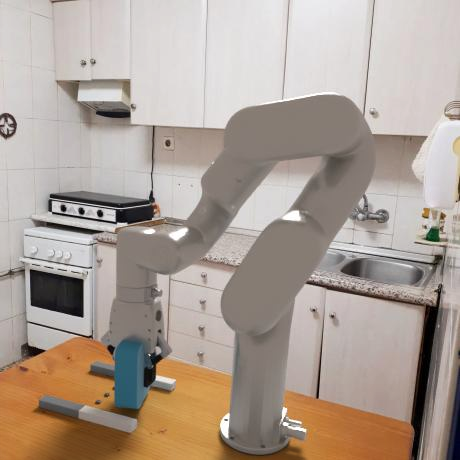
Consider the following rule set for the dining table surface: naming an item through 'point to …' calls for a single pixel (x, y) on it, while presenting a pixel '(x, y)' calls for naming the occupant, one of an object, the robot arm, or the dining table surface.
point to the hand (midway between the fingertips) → (135, 380)
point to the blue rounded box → (129, 375)
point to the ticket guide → (97, 414)
